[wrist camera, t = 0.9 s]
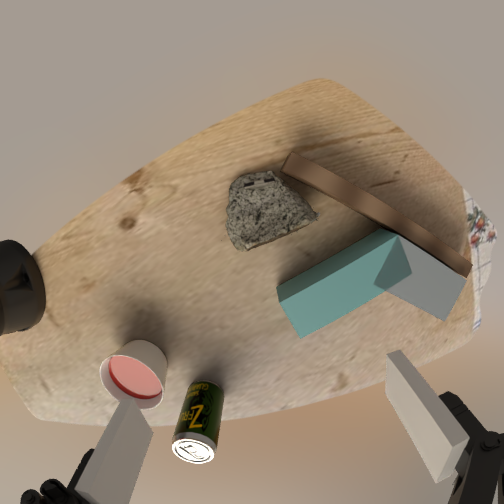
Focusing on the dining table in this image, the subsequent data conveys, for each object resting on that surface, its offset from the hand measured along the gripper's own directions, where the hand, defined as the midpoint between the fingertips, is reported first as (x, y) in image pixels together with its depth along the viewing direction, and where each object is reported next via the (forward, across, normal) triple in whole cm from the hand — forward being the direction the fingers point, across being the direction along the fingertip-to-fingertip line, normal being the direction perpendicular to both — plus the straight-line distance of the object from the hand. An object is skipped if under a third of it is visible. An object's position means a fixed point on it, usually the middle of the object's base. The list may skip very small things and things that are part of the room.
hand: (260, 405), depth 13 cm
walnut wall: (+22, +17, +3) cm, 28 cm away
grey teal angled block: (+22, +13, -5) cm, 26 cm away
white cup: (+23, -18, -9) cm, 31 cm away
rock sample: (+23, +2, +7) cm, 24 cm away
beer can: (+23, -11, -16) cm, 30 cm away
